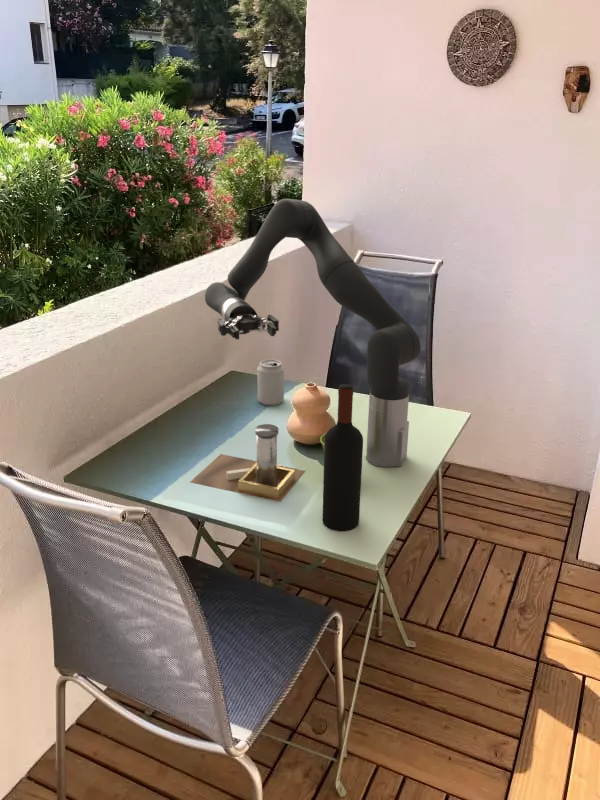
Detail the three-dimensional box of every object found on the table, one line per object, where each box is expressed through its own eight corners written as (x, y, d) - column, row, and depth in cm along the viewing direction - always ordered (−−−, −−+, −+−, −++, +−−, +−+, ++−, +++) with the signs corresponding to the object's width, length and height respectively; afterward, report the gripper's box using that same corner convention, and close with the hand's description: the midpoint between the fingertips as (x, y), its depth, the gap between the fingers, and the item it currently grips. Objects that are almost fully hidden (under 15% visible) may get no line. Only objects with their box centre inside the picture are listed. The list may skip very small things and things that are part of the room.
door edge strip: (226, 477, 164) (226, 471, 164) (281, 469, 168) (281, 463, 168) (227, 480, 163) (227, 473, 163) (282, 471, 167) (282, 465, 166)
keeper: (295, 479, 164) (295, 469, 163) (278, 499, 156) (278, 489, 155) (256, 471, 167) (256, 462, 166) (238, 490, 159) (238, 481, 158)
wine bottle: (317, 527, 148) (320, 390, 136) (329, 509, 154) (333, 377, 143) (352, 534, 145) (359, 396, 134) (363, 516, 152) (370, 382, 140)
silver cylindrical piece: (281, 481, 163) (281, 426, 157) (272, 492, 159) (273, 436, 153) (260, 476, 164) (260, 422, 159) (252, 487, 160) (251, 432, 154)
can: (283, 406, 205) (283, 367, 200) (256, 406, 205) (256, 366, 200) (284, 396, 212) (284, 358, 207) (258, 396, 212) (258, 357, 207)
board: (305, 474, 168) (305, 470, 168) (280, 505, 155) (280, 501, 155) (220, 457, 175) (220, 454, 175) (190, 485, 163) (189, 482, 162)
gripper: (210, 302, 179) (225, 320, 165) (265, 298, 183) (285, 315, 169) (211, 331, 182) (226, 351, 168) (266, 327, 186) (284, 346, 172)
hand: (255, 333), depth 168 cm, fingers open, 8 cm apart
